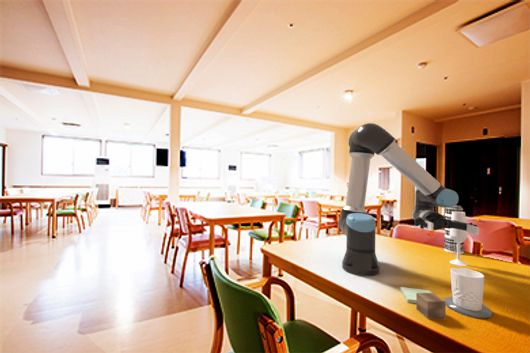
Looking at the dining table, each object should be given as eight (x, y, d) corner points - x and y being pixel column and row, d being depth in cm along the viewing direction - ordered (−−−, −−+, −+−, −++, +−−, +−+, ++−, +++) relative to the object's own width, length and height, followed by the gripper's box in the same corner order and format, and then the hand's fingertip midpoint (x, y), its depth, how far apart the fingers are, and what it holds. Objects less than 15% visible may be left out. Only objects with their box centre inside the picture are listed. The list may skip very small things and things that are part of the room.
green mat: (407, 302, 76) (407, 299, 76) (400, 289, 85) (400, 286, 85) (440, 306, 74) (440, 303, 74) (429, 293, 82) (429, 290, 82)
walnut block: (427, 319, 67) (427, 301, 67) (416, 309, 72) (416, 292, 72) (445, 319, 67) (445, 301, 67) (433, 309, 72) (433, 293, 72)
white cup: (491, 313, 68) (491, 278, 68) (459, 310, 70) (459, 276, 70) (473, 300, 76) (473, 268, 76) (445, 297, 78) (445, 266, 78)
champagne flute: (467, 267, 108) (467, 213, 108) (448, 263, 112) (448, 212, 112) (468, 263, 113) (468, 212, 113) (450, 259, 117) (450, 210, 117)
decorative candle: (439, 248, 137) (439, 204, 137) (457, 249, 135) (457, 205, 136) (449, 253, 128) (449, 206, 128) (468, 254, 126) (468, 206, 127)
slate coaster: (454, 314, 69) (454, 312, 69) (438, 296, 80) (438, 294, 80) (501, 321, 66) (501, 318, 66) (478, 301, 77) (478, 299, 77)
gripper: (465, 231, 101) (497, 244, 81) (399, 225, 108) (413, 235, 88) (466, 214, 101) (498, 222, 81) (400, 208, 108) (414, 215, 88)
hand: (454, 229), depth 84 cm, fingers open, 13 cm apart
